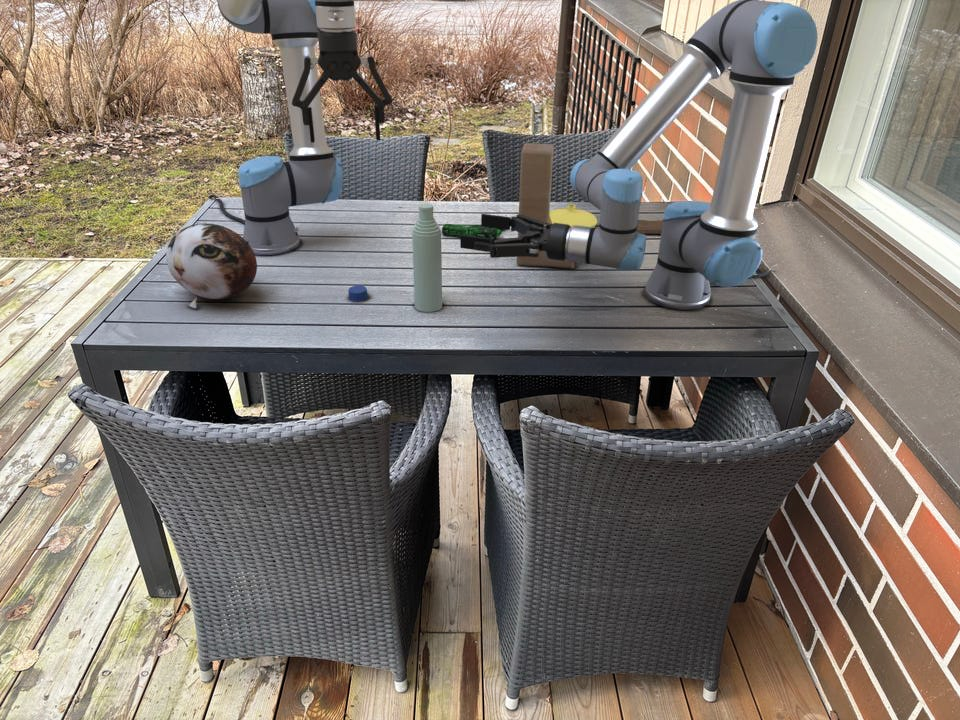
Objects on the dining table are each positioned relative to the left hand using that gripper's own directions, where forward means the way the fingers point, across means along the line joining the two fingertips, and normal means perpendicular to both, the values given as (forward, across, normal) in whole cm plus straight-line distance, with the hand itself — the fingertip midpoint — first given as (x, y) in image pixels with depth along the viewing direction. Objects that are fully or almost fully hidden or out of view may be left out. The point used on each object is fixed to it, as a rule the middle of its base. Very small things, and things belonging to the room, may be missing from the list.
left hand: (345, 140), depth 151 cm
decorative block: (+37, +50, +13) cm, 63 cm away
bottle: (+37, +16, -7) cm, 41 cm away
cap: (+35, 0, 0) cm, 35 cm away
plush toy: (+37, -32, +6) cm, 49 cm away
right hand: (+17, +25, -12) cm, 33 cm away
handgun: (+37, +36, +38) cm, 64 cm away
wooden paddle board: (+37, +88, +32) cm, 100 cm away
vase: (+37, +64, +36) cm, 82 cm away
